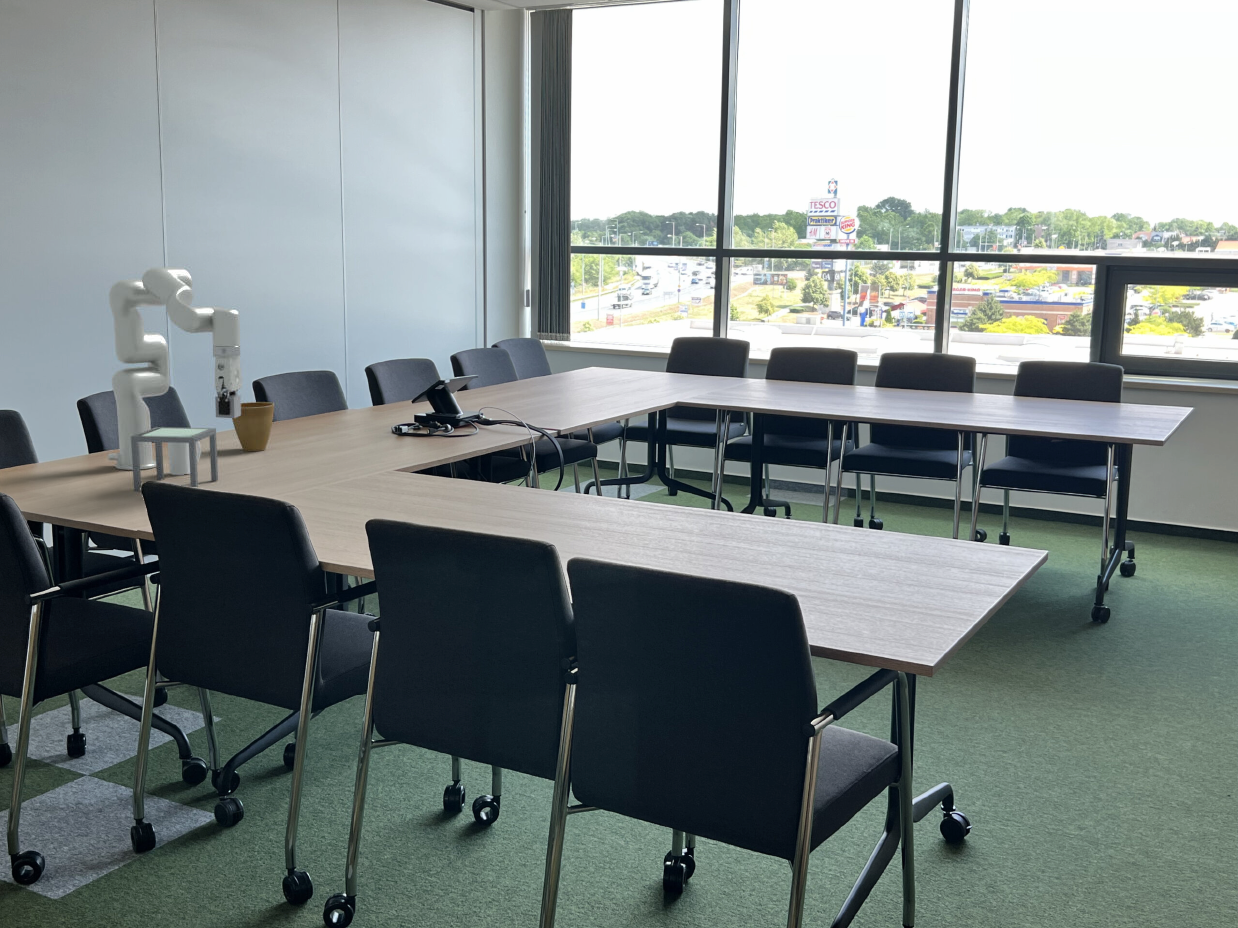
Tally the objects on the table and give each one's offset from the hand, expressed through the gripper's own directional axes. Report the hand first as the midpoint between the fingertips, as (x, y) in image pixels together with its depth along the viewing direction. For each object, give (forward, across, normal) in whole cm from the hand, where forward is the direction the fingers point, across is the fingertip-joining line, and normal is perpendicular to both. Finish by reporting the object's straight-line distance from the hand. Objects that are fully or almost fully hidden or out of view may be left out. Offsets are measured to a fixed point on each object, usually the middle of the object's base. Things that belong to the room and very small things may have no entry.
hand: (228, 412), depth 337 cm
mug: (+23, +17, +20) cm, 35 cm away
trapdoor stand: (+22, -2, +15) cm, 27 cm away
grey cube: (+1, 0, 0) cm, 1 cm away
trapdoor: (+7, -1, +15) cm, 17 cm away
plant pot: (+23, +60, +13) cm, 66 cm away
